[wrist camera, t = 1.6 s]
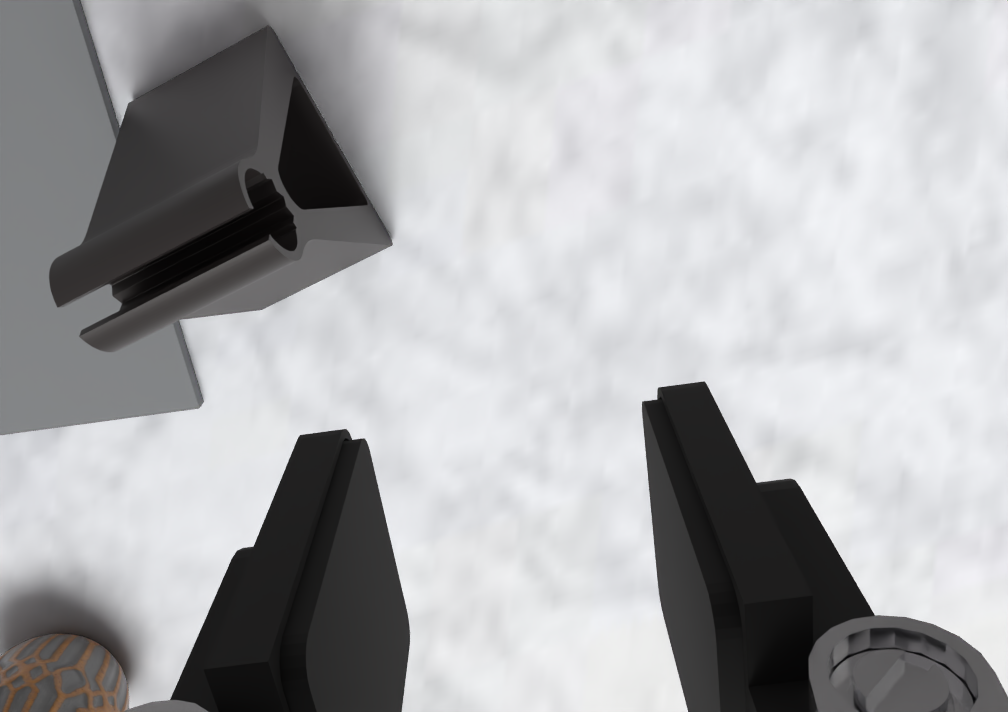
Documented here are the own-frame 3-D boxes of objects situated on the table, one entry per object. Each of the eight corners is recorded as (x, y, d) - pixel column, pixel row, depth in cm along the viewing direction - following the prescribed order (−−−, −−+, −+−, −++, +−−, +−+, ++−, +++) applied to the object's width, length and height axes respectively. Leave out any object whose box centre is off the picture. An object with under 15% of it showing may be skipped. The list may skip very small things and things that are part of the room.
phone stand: (132, 100, 33) (-46, 169, 22) (272, 24, 32) (158, 57, 21) (263, 306, 37) (164, 455, 26) (393, 242, 36) (349, 369, 25)
